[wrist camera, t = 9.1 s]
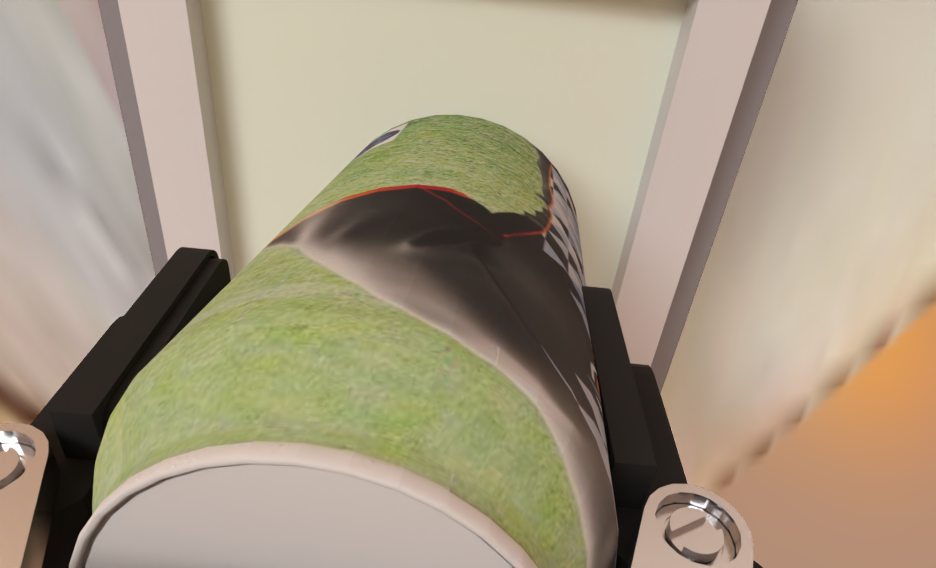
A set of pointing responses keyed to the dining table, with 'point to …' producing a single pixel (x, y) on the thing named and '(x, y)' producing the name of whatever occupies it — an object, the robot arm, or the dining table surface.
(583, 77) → the stand
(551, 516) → the beverage can
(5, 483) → the robot arm
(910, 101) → the dining table surface
